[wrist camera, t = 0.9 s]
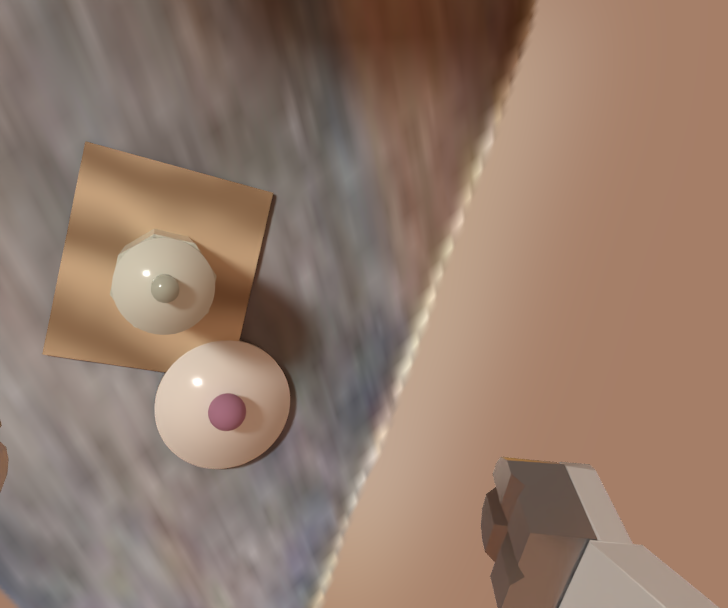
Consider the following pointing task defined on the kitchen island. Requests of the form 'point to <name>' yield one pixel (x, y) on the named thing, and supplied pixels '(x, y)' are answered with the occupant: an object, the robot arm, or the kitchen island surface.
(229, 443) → the saucer
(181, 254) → the lidded octagonal canister
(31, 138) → the kitchen island surface
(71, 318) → the mat
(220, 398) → the ball
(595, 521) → the robot arm
